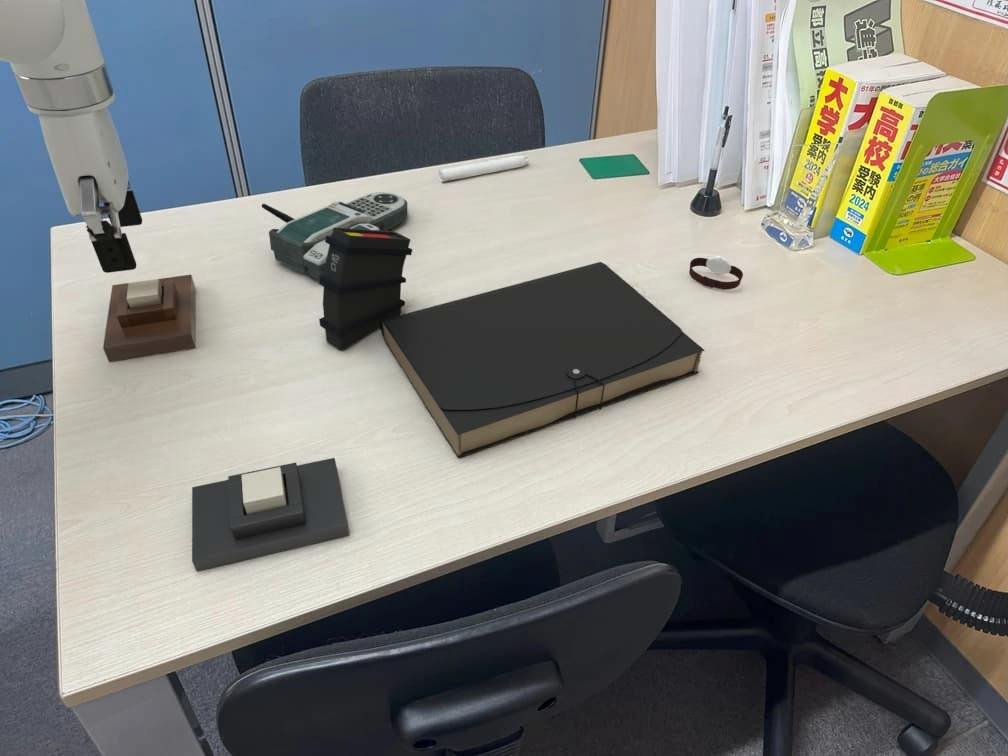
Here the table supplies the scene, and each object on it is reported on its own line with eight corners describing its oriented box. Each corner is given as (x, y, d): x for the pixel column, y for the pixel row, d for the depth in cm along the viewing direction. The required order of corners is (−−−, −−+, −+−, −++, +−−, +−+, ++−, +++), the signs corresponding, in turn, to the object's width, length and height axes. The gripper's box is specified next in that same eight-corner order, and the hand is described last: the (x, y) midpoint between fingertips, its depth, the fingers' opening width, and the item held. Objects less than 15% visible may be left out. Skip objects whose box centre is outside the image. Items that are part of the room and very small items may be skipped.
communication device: (431, 223, 115) (429, 172, 109) (324, 288, 100) (316, 232, 94) (375, 201, 120) (371, 151, 114) (265, 260, 105) (254, 205, 99)
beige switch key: (161, 305, 90) (157, 294, 89) (130, 309, 89) (126, 298, 88) (162, 289, 92) (158, 278, 91) (132, 294, 91) (128, 282, 90)
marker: (527, 162, 133) (527, 150, 132) (532, 166, 132) (533, 154, 130) (438, 179, 127) (438, 166, 125) (443, 184, 125) (443, 171, 124)
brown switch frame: (195, 348, 89) (187, 322, 87) (108, 362, 87) (97, 336, 84) (195, 287, 99) (187, 263, 96) (117, 298, 97) (107, 273, 94)
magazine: (301, 342, 88) (328, 226, 83) (376, 335, 99) (403, 231, 94) (321, 355, 86) (349, 237, 81) (395, 346, 97) (424, 241, 92)
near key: (247, 515, 66) (243, 503, 65) (245, 486, 69) (241, 474, 68) (286, 506, 67) (283, 494, 66) (283, 478, 70) (280, 466, 69)
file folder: (458, 433, 74) (378, 312, 90) (459, 460, 76) (381, 338, 92) (706, 348, 86) (596, 254, 102) (699, 374, 89) (593, 279, 105)
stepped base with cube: (196, 571, 65) (186, 549, 63) (196, 497, 72) (187, 475, 69) (349, 535, 69) (345, 513, 66) (336, 468, 75) (332, 445, 73)
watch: (742, 280, 105) (749, 259, 103) (735, 296, 102) (741, 275, 99) (692, 266, 108) (697, 245, 105) (683, 281, 104) (688, 260, 102)
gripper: (37, 60, 72) (95, 213, 83) (3, 124, 59) (76, 294, 71) (118, 55, 74) (164, 206, 85) (101, 117, 61) (157, 284, 72)
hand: (124, 246), depth 78 cm, fingers open, 9 cm apart
